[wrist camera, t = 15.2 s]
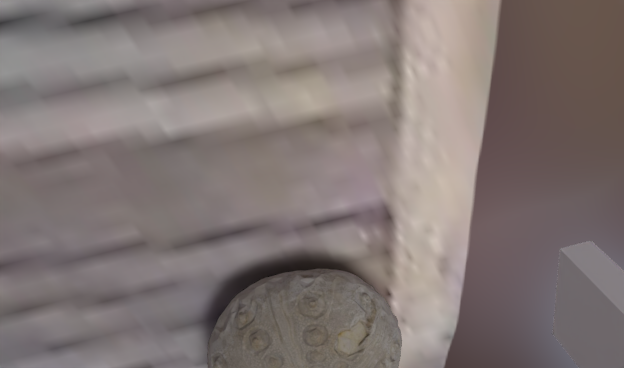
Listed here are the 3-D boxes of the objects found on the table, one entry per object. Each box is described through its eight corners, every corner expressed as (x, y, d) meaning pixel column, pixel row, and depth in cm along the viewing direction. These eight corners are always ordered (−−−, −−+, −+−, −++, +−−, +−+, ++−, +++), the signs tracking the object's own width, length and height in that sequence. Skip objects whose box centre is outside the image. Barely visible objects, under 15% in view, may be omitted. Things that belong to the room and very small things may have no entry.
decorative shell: (226, 233, 47) (231, 311, 38) (410, 256, 52) (451, 330, 43) (191, 378, 55) (190, 471, 46) (354, 387, 60) (380, 472, 51)
